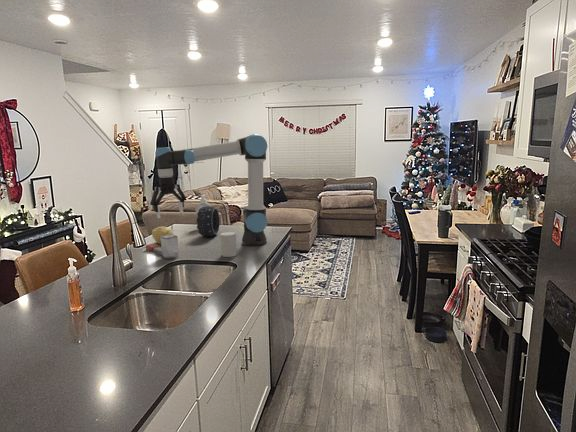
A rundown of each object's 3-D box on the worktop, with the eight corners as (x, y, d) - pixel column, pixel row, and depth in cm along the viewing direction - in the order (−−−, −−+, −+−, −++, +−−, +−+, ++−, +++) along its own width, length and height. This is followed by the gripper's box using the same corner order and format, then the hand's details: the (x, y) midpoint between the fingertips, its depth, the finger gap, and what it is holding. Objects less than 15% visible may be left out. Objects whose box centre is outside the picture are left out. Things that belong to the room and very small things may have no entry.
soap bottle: (216, 226, 287) (213, 194, 282) (212, 228, 279) (210, 195, 274) (199, 226, 288) (196, 194, 284) (195, 229, 281) (192, 196, 276)
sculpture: (150, 244, 242) (148, 228, 240) (161, 239, 253) (160, 223, 251) (166, 245, 238) (164, 228, 236) (177, 240, 250) (175, 224, 248)
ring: (221, 232, 268) (219, 203, 264) (213, 239, 249) (210, 209, 245) (206, 232, 269) (204, 204, 265) (196, 239, 250) (194, 209, 246)
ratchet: (181, 256, 213) (179, 242, 211) (167, 260, 208) (166, 246, 206) (156, 247, 234) (154, 234, 233) (143, 250, 229) (141, 237, 227)
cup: (220, 254, 215) (218, 233, 213) (234, 251, 219) (232, 231, 217) (224, 257, 208) (223, 236, 206) (238, 255, 212) (237, 234, 210)
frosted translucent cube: (178, 251, 212) (177, 235, 211) (167, 254, 208) (166, 238, 206) (173, 249, 217) (171, 234, 215) (162, 252, 212) (160, 236, 211)
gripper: (183, 174, 217) (187, 211, 221) (140, 179, 200) (145, 219, 204) (190, 174, 212) (194, 212, 216) (146, 179, 195) (152, 220, 199)
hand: (170, 215), depth 210 cm, fingers open, 13 cm apart
